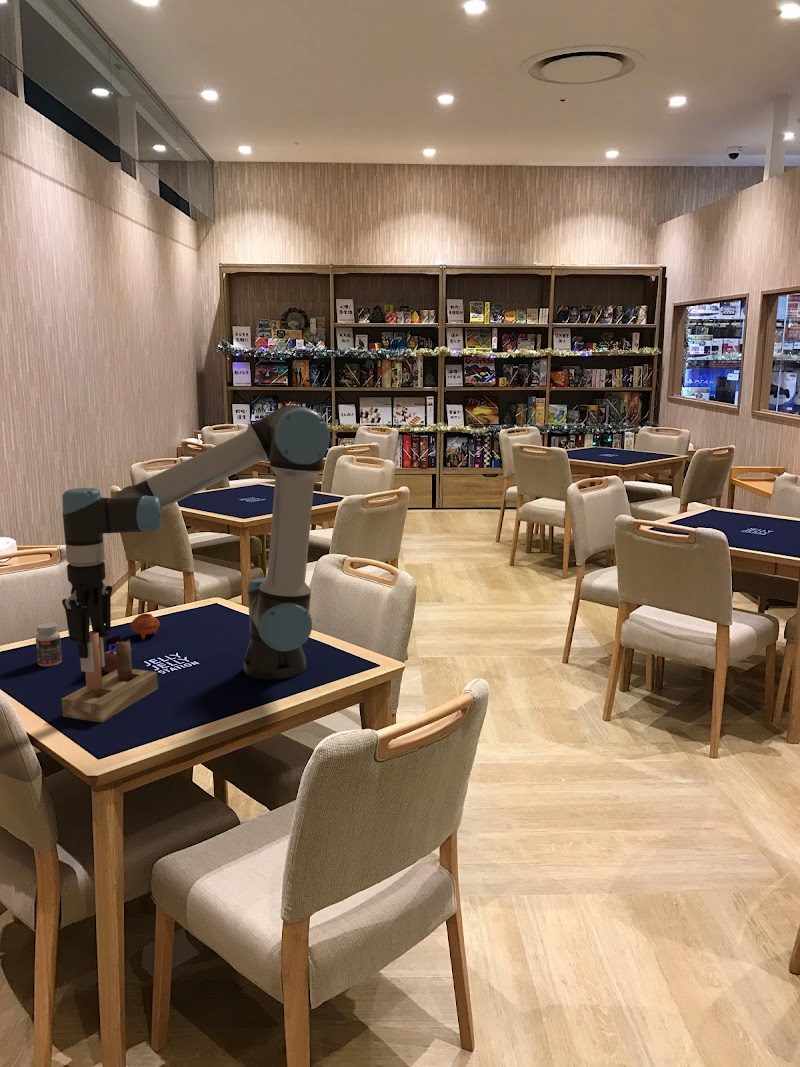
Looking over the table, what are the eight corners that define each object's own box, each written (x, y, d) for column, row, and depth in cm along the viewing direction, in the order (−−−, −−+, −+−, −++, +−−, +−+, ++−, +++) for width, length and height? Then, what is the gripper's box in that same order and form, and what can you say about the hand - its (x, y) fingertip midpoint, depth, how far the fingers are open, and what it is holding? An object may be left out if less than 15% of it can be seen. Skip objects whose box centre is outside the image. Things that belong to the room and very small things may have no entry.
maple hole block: (157, 688, 198) (156, 672, 198) (101, 722, 180) (100, 704, 179) (121, 683, 202) (120, 667, 201) (63, 716, 183) (61, 698, 182)
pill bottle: (42, 668, 212) (38, 630, 210) (34, 662, 216) (31, 624, 214) (65, 663, 215) (62, 625, 213) (58, 657, 220) (54, 620, 218)
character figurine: (137, 660, 218) (117, 682, 204) (109, 658, 218) (87, 680, 204) (138, 630, 217) (117, 651, 202) (109, 628, 217) (87, 649, 202)
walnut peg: (136, 692, 196) (133, 642, 194) (127, 697, 193) (124, 646, 191) (124, 690, 197) (121, 640, 195) (116, 695, 195) (112, 645, 192)
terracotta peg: (105, 685, 186) (101, 632, 184) (95, 690, 183) (91, 636, 181) (93, 683, 187) (89, 630, 185) (83, 688, 184) (79, 635, 182)
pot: (123, 638, 234) (124, 613, 234) (142, 636, 241) (143, 612, 241) (147, 640, 231) (148, 615, 231) (165, 638, 238) (166, 614, 238)
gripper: (95, 553, 188) (102, 654, 193) (44, 569, 173) (52, 679, 178) (124, 555, 186) (130, 658, 190) (74, 572, 171) (82, 683, 176)
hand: (93, 668), depth 184 cm, fingers closed on terracotta peg, 3 cm apart
